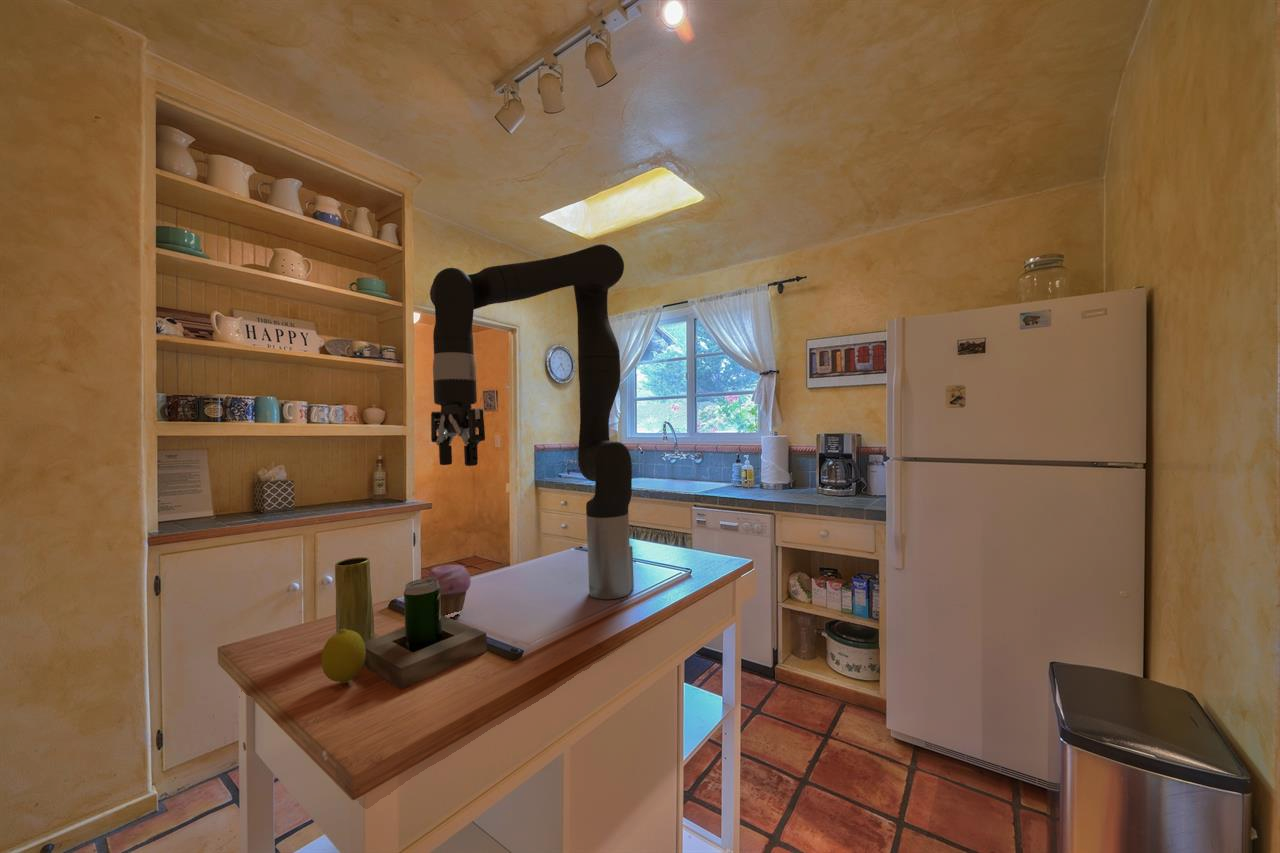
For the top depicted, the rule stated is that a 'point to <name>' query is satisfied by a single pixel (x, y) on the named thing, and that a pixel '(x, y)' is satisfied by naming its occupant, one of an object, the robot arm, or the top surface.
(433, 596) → the beer can
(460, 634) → the can holder block
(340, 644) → the lemon
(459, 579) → the cupcake
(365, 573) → the vase
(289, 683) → the top surface
